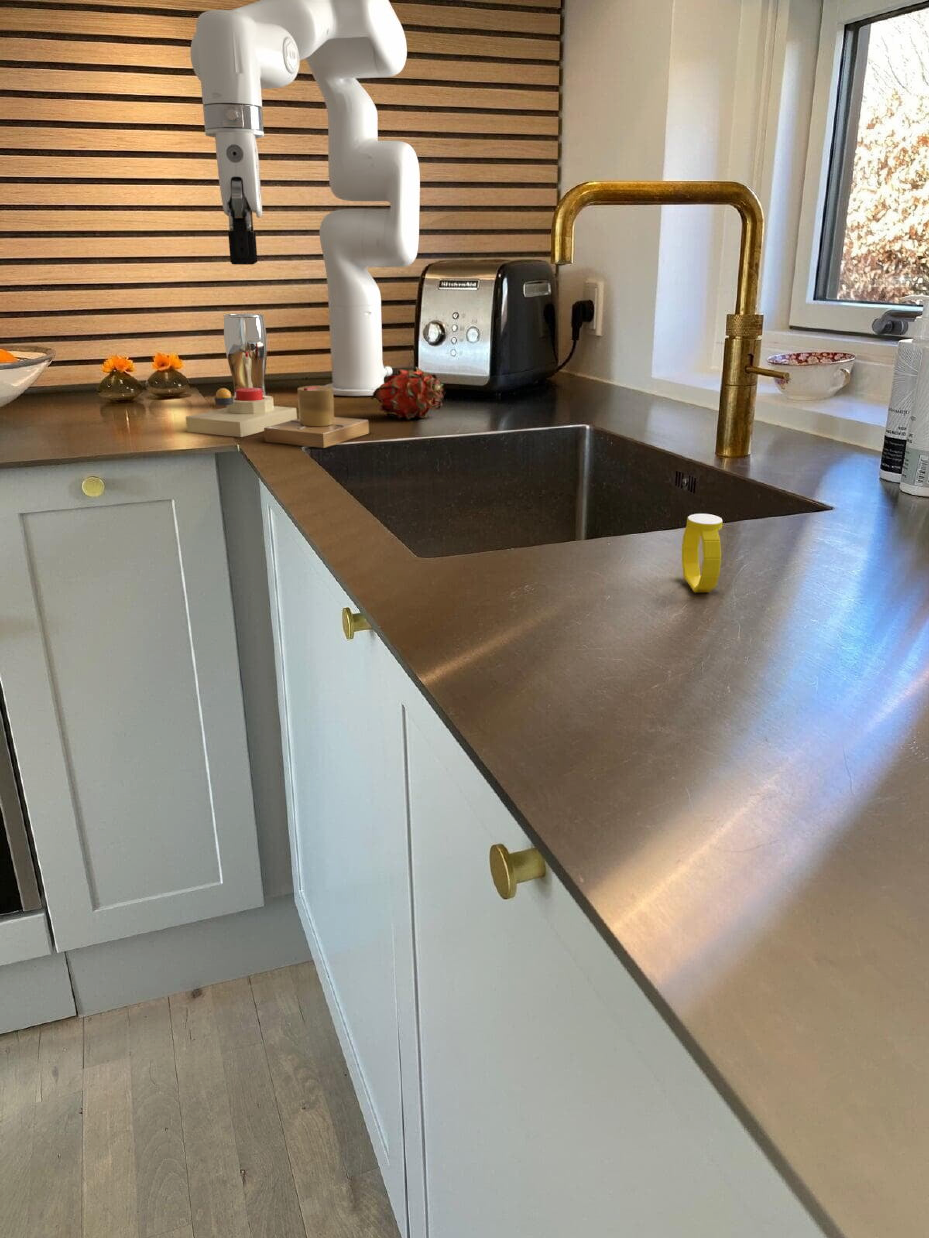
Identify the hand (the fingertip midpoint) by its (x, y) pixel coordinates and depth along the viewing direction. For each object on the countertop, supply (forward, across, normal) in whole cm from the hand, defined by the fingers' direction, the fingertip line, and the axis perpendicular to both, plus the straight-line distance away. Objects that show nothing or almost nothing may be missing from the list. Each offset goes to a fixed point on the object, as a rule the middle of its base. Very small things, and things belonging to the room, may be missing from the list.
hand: (244, 263), depth 129 cm
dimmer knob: (+22, -3, -9) cm, 23 cm away
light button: (+20, +9, +1) cm, 22 cm away
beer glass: (+24, +27, +2) cm, 36 cm away
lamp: (+20, +4, +5) cm, 20 cm away
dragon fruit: (+24, +11, -24) cm, 35 cm away
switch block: (+24, +8, +2) cm, 25 cm away
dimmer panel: (+24, -3, -9) cm, 25 cm away
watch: (+24, -72, -38) cm, 85 cm away
